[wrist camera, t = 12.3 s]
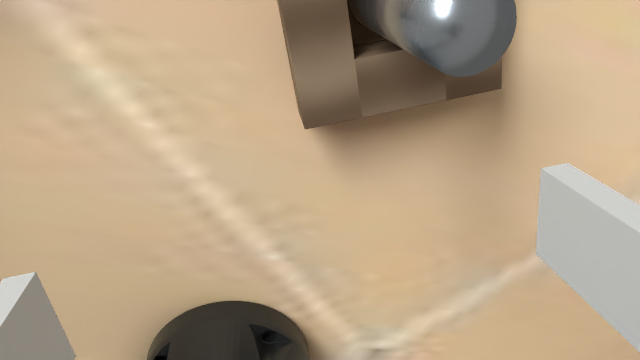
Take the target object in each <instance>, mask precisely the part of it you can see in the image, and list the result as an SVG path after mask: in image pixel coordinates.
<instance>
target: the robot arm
mask: <svg viewBox="0 0 640 360" xmlns="http://www.w3.org/2000/svg"><path fill="white" fill-rule="evenodd" d="M536 255H537V256H538V257H540V258H541V259H542V260H543V261H544V262H545V263H546V264H547V265H548V266H549V267H550V268H551V269H552V270H553V271H554V272H555V273H556V274H557V275H559V276H560V277H561V278H562V279H563V280H564V281H565V282H566V283H567V284H568V285H569V286H570V287H571V288H572V289H573V290H574V291H575V292H576V293H578V294H579V295H580V296H581V297H582V298H583V299H584V300H585V301H586V302H587V303H588V304H589V305H590V306H591V307H592V308H593V309H594V310H595V311H597V312H598V313H599V314H600V315H601V316H602V317H603V318H604V319H605V320H606V321H607V322H608V323H609V324H610V325H611V326H612V327H613V328H614V329H616V330H617V331H618V332H619V333H620V334H621V335H622V336H623V337H624V338H625V339H626V340H627V341H628V342H629V343H630V344H631V345H632V346H633V347H635V348H636V349H637V350H638V351H639V352H640V205H639V204H637V203H635V202H634V201H632V200H630V199H629V198H627V197H625V196H623V195H622V194H620V193H618V192H617V191H615V190H613V189H611V188H610V187H608V186H606V185H605V184H603V183H601V182H599V181H598V180H596V179H594V178H593V177H591V176H589V175H587V174H586V173H584V172H582V171H581V170H579V169H577V168H575V167H574V166H572V165H570V164H569V163H565V164H560V165H555V166H550V167H545V168H541V176H540V193H539V210H538V226H537V243H536ZM75 357H76V355H75V353H74V351H73V349H72V347H71V345H70V342H69V340H68V338H67V336H66V334H65V332H64V330H63V328H62V326H61V324H60V321H59V319H58V317H57V315H56V313H55V311H54V309H53V307H52V305H51V303H50V300H49V298H48V296H47V294H46V292H45V290H44V288H43V286H42V284H41V282H40V279H39V277H38V275H37V273H36V272H33V273H28V274H23V275H18V276H13V277H8V278H4V279H3V280H2V281H1V282H0V360H75ZM147 360H310V358H309V352H308V346H307V343H306V340H305V338H304V336H303V334H302V333H301V331H300V330H299V328H298V327H297V326H296V325H295V324H294V323H293V322H292V321H291V320H290V319H289V318H287V317H286V316H284V315H283V314H281V313H280V312H278V311H276V310H274V309H271V308H269V307H266V306H263V305H260V304H255V303H250V302H242V301H225V302H216V303H211V304H206V305H202V306H199V307H196V308H194V309H191V310H189V311H187V312H185V313H183V314H181V315H179V316H178V317H176V318H175V319H173V320H172V321H170V322H169V323H168V324H167V325H166V326H165V327H164V328H163V329H162V330H161V331H160V332H159V333H158V334H157V336H156V337H155V339H154V341H153V342H152V344H151V346H150V349H149V352H148V356H147Z"/></svg>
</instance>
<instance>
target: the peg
mask: <svg viewBox="0 0 640 360" xmlns="http://www.w3.org/2000/svg"><path fill="white" fill-rule="evenodd" d="M349 5H350V9H351V12H352V14H353V16H354V17H355V19H356V20H357V21H358V22H359V23H360V24H362V25H363V26H365V27H367V28H368V29H370V30H372V31H374V32H375V33H377V34H379V35H380V36H382V37H384V38H385V39H387V40H389V41H390V42H392V43H394V44H396V45H397V46H399V47H401V48H402V49H404V50H406V51H407V52H409V53H411V54H412V55H414V56H416V57H417V58H419V59H421V60H423V61H424V62H426V63H428V64H429V65H431V66H433V67H434V68H436V69H438V70H439V71H441V72H443V73H445V74H448V75H451V76H457V77H465V76H471V75H475V74H478V73H480V72H482V71H484V70H486V69H488V68H489V67H491V66H492V65H493V64H494V63H496V62H497V61H498V60H499V59H500V57H501V56H502V55H503V54H504V52H505V51H506V50H507V48H508V46H509V44H510V42H511V40H512V38H513V35H514V32H515V27H516V18H517V16H516V6H515V2H514V0H349Z"/></svg>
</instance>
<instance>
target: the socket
mask: <svg viewBox="0 0 640 360" xmlns="http://www.w3.org/2000/svg"><path fill="white" fill-rule="evenodd" d="M277 1H278V6H279V11H280V17H281V22H282V27H283V32H284V37H285V43H286V48H287V53H288V58H289V63H290V69H291V74H292V79H293V84H294V89H295V94H296V100H297V105H298V110H299V114H300V117H301V119H302V122H303V125H304V128H305V129H309V128H314V127H319V126H324V125H328V124H333V123H338V122H343V121H348V120H353V119H357V118H362V117H367V116H372V115H377V114H381V113H386V112H391V111H396V110H401V109H405V108H410V107H415V106H420V105H425V104H430V103H434V102H439V101H444V100H449V99H454V98H458V97H463V96H468V95H473V94H478V93H482V92H487V91H492V90H497V89H501V73H502V56H501V57H500V59H499V60H498V61H497V62H496V63H494V64H493V65H492V66H491V67H489V68H488V69H486V70H484V71H482V72H480V73H478V74H475V75H471V76H465V77H457V76H451V75H448V74H445V73H443V72H441V71H439V70H438V69H436V68H434V67H433V66H431V65H429V64H428V63H426V62H424V61H423V60H421V59H419V58H417V57H416V56H414V55H412V54H411V53H409V52H407V51H406V50H404V49H402V48H401V47H399V46H397V45H396V44H394V43H392V42H390V41H389V40H384V41H379V42H374V43H369V44H364V45H359V46H354V47H353V44H352V37H351V29H350V21H349V14H348V6H347V0H277Z"/></svg>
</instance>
